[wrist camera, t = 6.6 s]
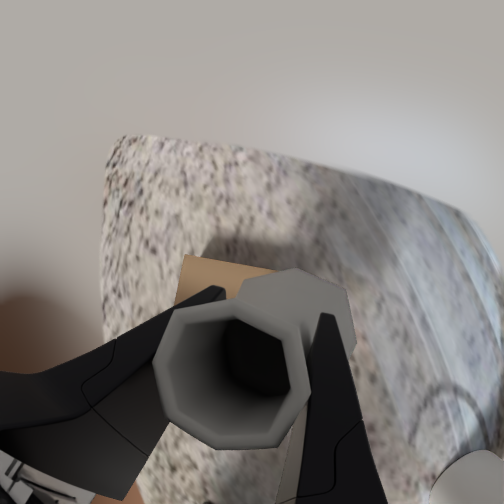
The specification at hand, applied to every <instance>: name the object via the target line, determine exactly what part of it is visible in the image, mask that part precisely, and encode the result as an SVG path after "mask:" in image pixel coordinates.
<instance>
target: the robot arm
mask: <svg viewBox="0 0 504 504" xmlns="http://www.w3.org/2000/svg"><path fill="white" fill-rule="evenodd" d="M222 300H227V299H226V290H225V288H223V287H220V286H216V285H211V286H209V287H207V288H205V289H203V290H202V291H200V292H198V293H196V294H194V295H193V296H191V297H189V298H187V299H185V300H184V301H182V302H180V303H178V304H176V305H175V306H173V307H171V308H169V309H167V310H166V311H164V312H162V313H160V314H158V315H157V316H155V317H153V318H151V319H149V320H148V321H146V322H144V323H142V324H140V325H139V326H137V327H135V328H133V329H131V330H130V331H128V332H126V333H124V334H122V335H120V336H119V337H117V339H113V340H111V341H109V342H107V343H106V344H104V345H102V346H100V347H98V348H96V349H94V350H92V351H90V352H88V353H86V354H83V355H81V356H79V357H77V358H74V359H72V360H70V361H67V362H65V363H63V364H60V365H57V366H55V367H53V368H50V369H48V370H45V371H42V372H38V373H33V374H21V373H13V372H6V371H0V504H90V503H91V502H92V500H93V499H94V497H95V495H96V494H99V495H103V496H106V497H109V498H113V499H117V500H121V501H122V500H123V499H124V498H125V496H126V494H127V493H128V491H129V489H130V488H131V486H132V485H133V483H134V481H135V480H136V478H137V476H138V475H139V473H140V471H141V470H142V468H143V466H144V465H145V463H146V461H147V460H148V458H149V457H148V456H150V454H151V453H152V451H153V449H154V448H155V446H156V444H157V443H158V441H159V439H160V438H161V436H162V434H163V433H164V431H165V429H166V427H167V426H168V424H169V422H170V421H168V420H167V419H166V418H165V417H164V413H163V409H162V405H161V401H160V397H159V392H158V388H157V383H156V379H155V374H154V369H153V364H152V361H153V359H154V357H155V354H156V352H157V349H158V347H159V344H160V342H161V340H162V337H163V335H164V333H165V330H166V328H167V325H168V323H169V321H170V319H171V316H172V314H173V312H174V310H175V309H181V308H186V307H191V306H197V305H202V304H207V303H212V302H217V301H222ZM306 367H307V372H308V377H309V383H310V388H311V394H310V396H309V398H308V400H307V402H306V403H305V405H304V407H303V408H302V410H301V412H300V413H299V415H298V417H297V418H296V420H295V422H294V423H293V428H292V433H291V438H290V443H289V448H288V452H287V457H286V461H285V466H284V470H283V474H282V478H281V482H280V486H279V490H278V494H277V498H276V502H275V504H388V502H387V499H386V496H385V493H384V490H383V487H382V484H381V481H380V478H379V475H378V472H377V469H376V466H375V463H374V460H373V456H372V453H371V450H370V446H369V442H368V438H367V434H366V430H365V425H364V421H363V420H362V418H363V417H362V413H361V409H360V404H359V400H358V396H357V392H356V388H355V384H354V381H353V377H352V373H351V369H350V366H349V362H348V358H347V355H346V351H345V347H344V344H343V340H342V337H341V334H340V330H339V327H338V323H337V320H336V317H335V315H334V314H330V313H325V312H321V313H320V316H319V319H318V323H317V327H316V331H315V334H314V338H313V342H312V345H311V349H310V353H309V357H308V360H307V364H306Z"/></svg>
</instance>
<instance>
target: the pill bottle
mask: <svg viewBox="0 0 504 504" xmlns="http://www.w3.org/2000/svg"><path fill="white" fill-rule="evenodd" d="M429 503H430V504H504V461H503V460H502V459H501V458H499V457H498V456H497V455H496V454H494V453H493V452H491V451H488V450H477V451H474V452H471V453H469V454H467V455H465V456H463V457H462V458H460V459H459V460H457V461H456V462H455V463H453V464H452V465H451V466H450V467H449V468H448V469H446V470H445V471H444V473H443V474H442V475H441V476H440V477H439V478H438V480H437V481H436V483H435V484H434V486H433V488H432V490H431V493H430V497H429Z"/></svg>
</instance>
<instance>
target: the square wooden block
mask: <svg viewBox="0 0 504 504" xmlns="http://www.w3.org/2000/svg"><path fill="white" fill-rule="evenodd" d="M274 272H279V271H276V270H270V269H264V268H259V267H253V266H247V265H242V264H236V263H230V262H225V261H219V260H214V259H208V258H203V257H197V256H192V255H186V254H185V256H184V260H183V265H182V269H181V274H180V278H179V283H178V288H177V293H176V298H175V303H174V306H175V305H176V304H178V303H180V302H182V301H184V300H185V299H187V298H189V297H191V296H193V295H194V294H196V293H198V292H200V291H202V290H203V289H205V288H207V287H209V286H211V285H216V286H220V287H223V288H225V290H226V299H232V298H235V297H236V295H237V293H238V291H239V289H240V287H241V285H242V282H243V280H244V279H248V278H253V277H257V276H261V275H266V274H270V273H274Z"/></svg>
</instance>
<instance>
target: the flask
mask: <svg viewBox="0 0 504 504" xmlns="http://www.w3.org/2000/svg"><path fill="white" fill-rule="evenodd" d="M321 312H325V313H330V314H334V315H335V317H336V320H337V323H338V327H339V330H340V334H341V337H342V340H343V344H344V347H345V351H346V355H347V358H348V360H349V358H350V356H351V354H352V352H353V350H354V348H355V346H356V344H357V340H356V335H355V330H354V325H353V320H352V315H351V310H350V305H349V301H348V296H347V292H346V289H345V288H342V287H340V286H338V285H335V284H333V283H331V282H329V281H326V280H324V279H322V278H319V277H317V276H315V275H312V274H310V273H308V272H305V271H303V270H301V269H299V268H296V267H295V268H291V269H287V270H283V271H279V272H274V273H270V274H266V275H261V276H257V277H253V278H248V279H244V280H243V282H242V285H241V287H240V289H239V291H238V293H237V295H236V297H235V298H232V299H227V300H222V301H217V302H212V303H207V304H202V305H197V306H191V307H186V308H181V309H175V310H174V312H173V314H172V316H171V319H170V321H169V323H168V325H167V328H166V330H165V333H164V335H163V337H162V340H161V342H160V344H159V347H158V349H157V352H156V354H155V357H154V359H153V361H152V364H153V369H154V374H155V379H156V383H157V388H158V392H159V397H160V401H161V405H162V409H163V413H164V417H165V418H166V419H167V420H168V421H170V422H171V423H173V424H174V425H176V426H177V427H179V428H180V429H182V430H183V431H185V432H186V433H188V434H190V435H191V436H193V437H194V438H196V439H198V440H199V441H201V442H203V443H204V444H206V445H208V446H210V447H211V448H213V449H215V450H251V449H267V448H278V446H279V445H280V443H281V442H282V440H283V439H284V437H285V436H286V434H287V433H288V431H289V430H290V428H291V426H292V425H293V423H294V422H295V420H296V418H297V417H298V415H299V413H300V412H301V410H302V408H303V407H304V405H305V403H306V402H307V400H308V398H309V396H310V394H311V388H310V383H309V377H308V372H307V367H306V364H307V360H308V357H309V353H310V349H311V345H312V342H313V338H314V334H315V331H316V327H317V323H318V319H319V316H320V313H321Z"/></svg>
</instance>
